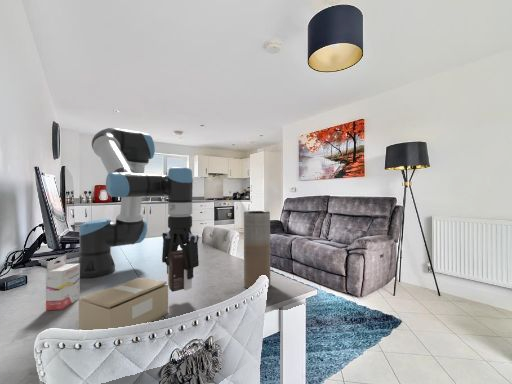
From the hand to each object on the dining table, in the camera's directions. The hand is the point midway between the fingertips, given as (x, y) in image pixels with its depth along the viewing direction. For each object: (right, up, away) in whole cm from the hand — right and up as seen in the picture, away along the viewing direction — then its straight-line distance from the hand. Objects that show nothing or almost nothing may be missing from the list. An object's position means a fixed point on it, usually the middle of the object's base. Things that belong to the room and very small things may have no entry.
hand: (179, 286), depth 79 cm
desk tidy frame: (-71, -6, +48) cm, 86 cm away
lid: (-10, +4, -13) cm, 17 cm away
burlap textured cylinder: (+25, -5, +13) cm, 29 cm away
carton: (-10, -5, -13) cm, 17 cm away
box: (0, -1, 0) cm, 1 cm away
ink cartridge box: (-36, -5, -2) cm, 37 cm away
